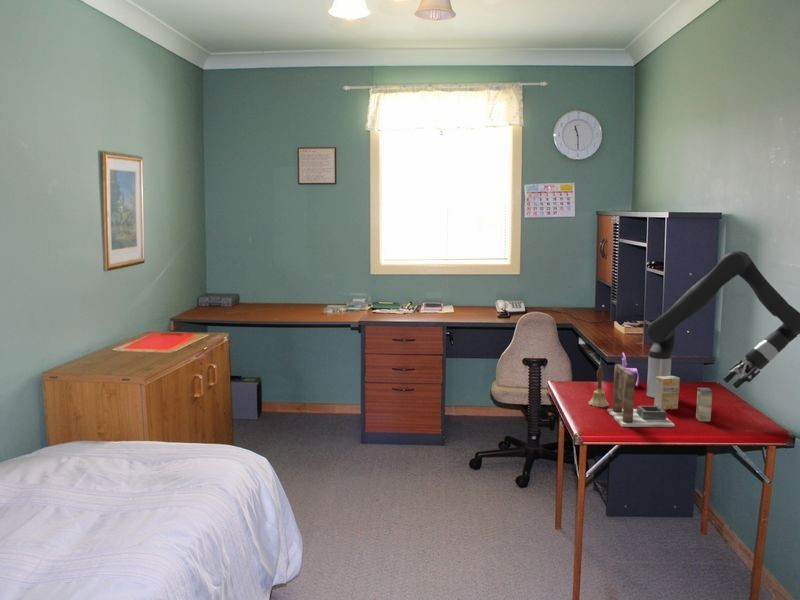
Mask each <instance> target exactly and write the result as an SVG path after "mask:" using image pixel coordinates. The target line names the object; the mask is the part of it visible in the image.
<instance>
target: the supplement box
mask: <svg viewBox="0 0 800 600" xmlns="http://www.w3.org/2000/svg"><path fill="white" fill-rule="evenodd" d="M680 380H681V378H680V377H679V376H675V375H670V376H660V377H658V376H656V385H655V398H654V400H653V401H654V402H653V406H659V407H660V408H662V409H663V410H664V411H668V409H670V410H678V409H679V408H678V407H679V395H680V382H681V381H680Z"/></svg>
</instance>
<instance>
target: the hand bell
mask: <svg viewBox="0 0 800 600" xmlns="http://www.w3.org/2000/svg"><path fill="white" fill-rule="evenodd" d="M596 379H597V387H596V388H597V389H596V390H594V391H593V394H592V397H591V399H590V400H589V401H588V403H587V404H588V405H589V406H591V405H592V406H591V407H595V406H596V407H595V408H607V407H609V406H610V404H609V402H608V401H607V399H606V393H605V391H604V390H602V387H603V385H602V382H603V379H604V369H603V366H598V369H597V370H596ZM606 406H607V407H606Z"/></svg>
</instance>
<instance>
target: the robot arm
mask: <svg viewBox="0 0 800 600" xmlns="http://www.w3.org/2000/svg"><path fill="white" fill-rule="evenodd" d="M736 276H739V277H740V278H741V279H742V280H744V281H745V282H746V283H747V285H748V286H749V287H750V288H751V290H752V291H753V293H754V295H755V296H756V298H757V299H758V300H759V302H760V304H762V306H763V307H764V308H765V309H766V310H767V311H768V312H769V313H770V314H771V315H772V316H774V317H776V318H778V319H779V320H780V322H782V323H781V325H779V326H778V328H776V329H775V331H774V330H773V331H772V332H771V333H770V334H769V335H768V336H766V337H765V338H764V339H762V340H761V341H760V342H759V343H757V344H756V345H755V346H753V348H752V349H751V350H749V351H748V352H747V354H745V356H744V357H745V360H742V359H738V360H737V361H736V362H735V363H734V364H732V366H730V367H729V368H728V370H729V372H728V373H727V374H726V375H724V377H723V378H722V380H723V381H724V382H725V383H727V384H728V383H729V382H730V381H731V380H732V379H733V378H735V377H736V376H740V377H739V378H737V379H736V380H735V381H734V382H733V383H732V386H733V387H734V388H735V389H738V388H740V386H742V385H743V384H744V383H751V382H752V381H753V380H754V379H755V378H756V377H757V376H758V375H759V374H760V373H761V370H762V369H764V368H765V367H766V366H767V365H768V364H769V363H770V362H771V361H773V360H774V359H775V358H776V356H777V355H778V354H780V352H782V351H783V350H784V349H785V348H786V347H787V346H788V345H789V344H790V343H791V342H792V341H793V340H794V339H796V338H797V337H798V336H799V335H800V312H799V311H798V310H797V309H796V308H795V307H793V306H792V305H791V304H789V303H788V302H787V300H786V299H785V298H784V297H783V296H782V295H781V294H780V293H779V292H778V290H776V289H775V288H774V287H773V286H772V284H770V282H769V281H768V280H767V279H766V278H765V277H764V275H763V274H762V272H760V270H759V269H758V268H757V266H756V265H755V263H754V262H753V260H752V258H751V257H750V255H748V253H746V252H744V251H741V250H735V251H731V252H729V253H727V254H725V255H724V256H723V257H722V258H721V259H720V260H719V261H718V263H717V264H716V265H715V266H714V267H713V268H712V269H711V271H710V272H709V273H707V274H706V275H705V276H703V277H702V278H701V279H699V280H698V281H697V282H696V283H695V284H693V285H692V286H691V287H690V288H689V289H688V290H686V292H685V293H683V294H682V296H681V297H679V298H678V300H677V301H675V302H674V304H673V305H671V306H670V307H669V309H667V311H665V312H664V313H663V314H662V315H660V316H659V317H658V318H656V319H655V320H653V321H652V322H651V323H649V324H648V327H647V329H646V336H647V338H648V340H650V341H652V344H651V347H650V348H649V350H648V363H647V379H646V381H647V382H646V396H647V397H650V398H651V399H652V398H653V399H655V385H656V376H658V377H660V376H671V373H672V372H671V371H672V355H673V351H674V349H675V338H676V330H675V329H676V328H677V327H678V326H679V325H680V324H682V323H683V322H685V321H687V320H688V319H690V318H692V317H693V316H695V315H696V314H698V313H699V312H701V311H702V310H703V309H704V308H705V307H707V305H708V304H710V302H712V301H713V299H714V298H715V297H716V296H717V294H718V292H719V291H720V289H721V288H723V286H724V285H726V284H727V283H728V282H730V281H731V280H732V279H734V278H735V277H736ZM798 334H799V335H798ZM797 335H798V336H797Z"/></svg>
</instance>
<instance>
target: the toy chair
mask: <svg viewBox="0 0 800 600" xmlns="http://www.w3.org/2000/svg"><path fill="white" fill-rule="evenodd" d="M621 361H622V363H621V365H622V366H624V367H625V368H626V369H627V370H628V371H630V372H631V373H632V374H637V379H636V382H635V386H637V387H636V388H638V386H639V382H640V381H639V380H640V375H639V373H638V372H639V371H638V369H637V368H635V367H627V366H628V362H627V358H626V355H625V352H622V357H621Z"/></svg>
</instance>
